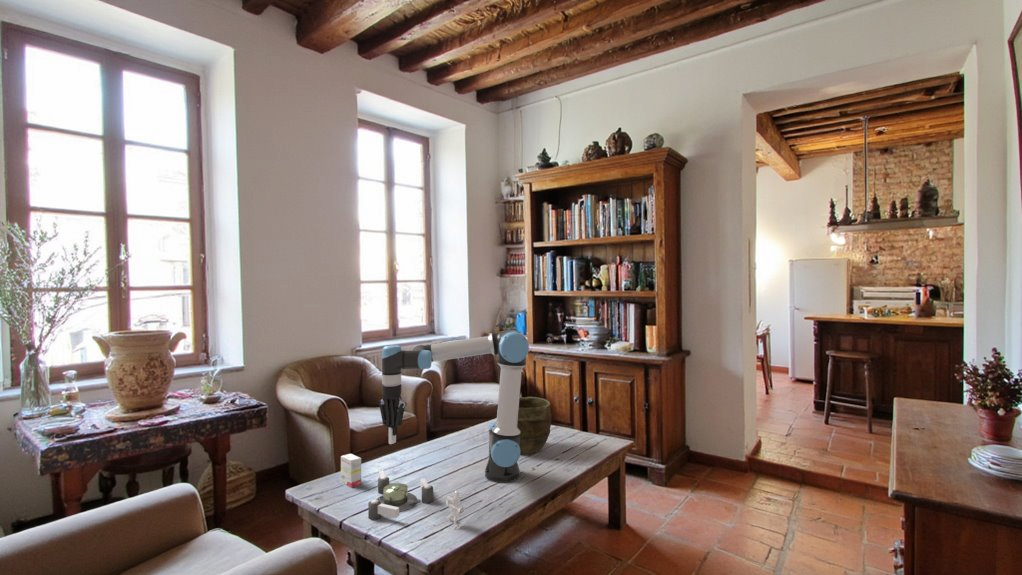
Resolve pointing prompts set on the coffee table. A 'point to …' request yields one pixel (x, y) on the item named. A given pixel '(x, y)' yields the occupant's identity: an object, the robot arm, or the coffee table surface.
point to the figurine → (454, 508)
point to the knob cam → (381, 510)
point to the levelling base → (398, 496)
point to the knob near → (426, 491)
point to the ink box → (350, 470)
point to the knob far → (382, 481)
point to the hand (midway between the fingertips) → (392, 442)
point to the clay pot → (533, 424)
